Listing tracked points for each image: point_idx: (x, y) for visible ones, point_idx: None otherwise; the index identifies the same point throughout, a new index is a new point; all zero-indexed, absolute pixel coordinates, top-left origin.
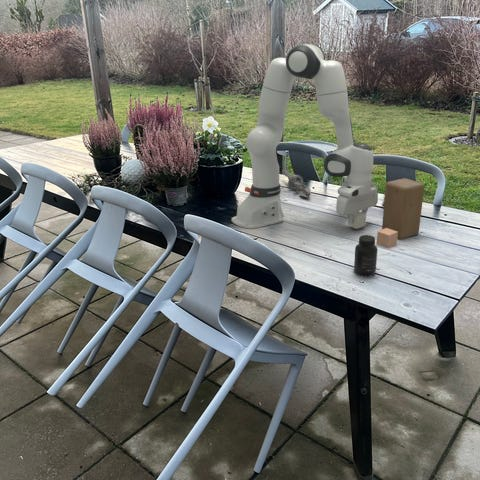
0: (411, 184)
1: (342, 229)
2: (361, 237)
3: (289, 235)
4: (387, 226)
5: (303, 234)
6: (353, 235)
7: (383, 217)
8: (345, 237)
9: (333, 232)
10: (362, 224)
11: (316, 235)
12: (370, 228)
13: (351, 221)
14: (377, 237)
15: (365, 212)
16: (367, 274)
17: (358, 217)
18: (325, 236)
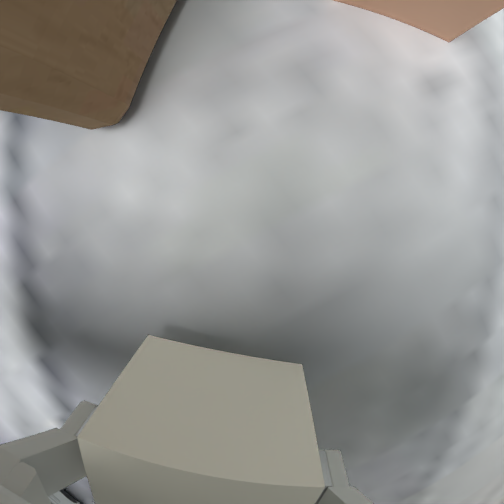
0: None
1: (318, 448)
2: None
3: (492, 501)
4: (129, 6)
5: (475, 492)
6: (405, 318)
7: (12, 67)
8: (469, 341)
9: (407, 450)
10: (196, 364)
11: (478, 463)
12: (120, 275)
13: (343, 467)
14: (485, 14)
15: (44, 451)
16: None
17: (300, 472)
18: (483, 432)
